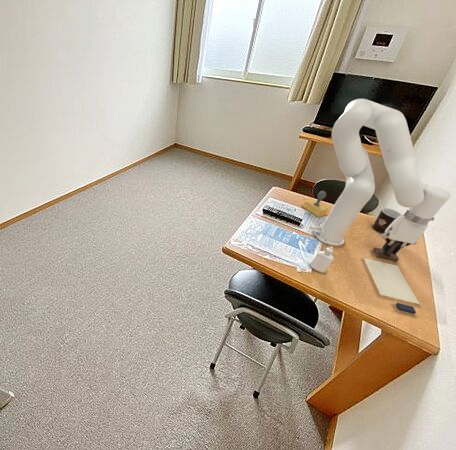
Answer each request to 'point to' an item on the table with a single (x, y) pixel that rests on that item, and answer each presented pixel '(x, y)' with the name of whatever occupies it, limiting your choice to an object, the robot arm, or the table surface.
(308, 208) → the rubber stamp
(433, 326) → the table surface
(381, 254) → the handled square plate
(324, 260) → the eye dropper bottle
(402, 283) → the tile
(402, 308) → the eraser
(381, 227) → the coffee mug
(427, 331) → the table surface
